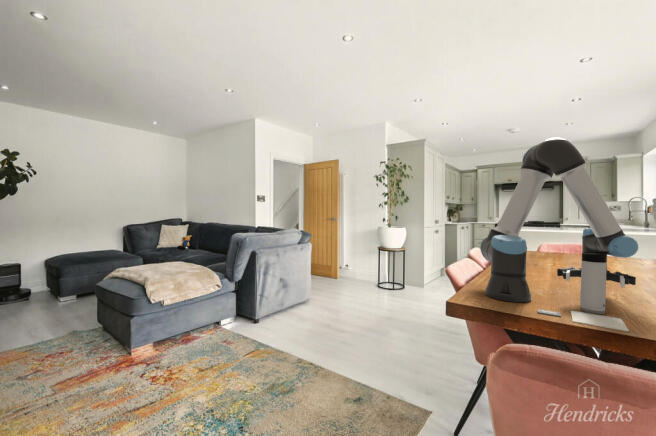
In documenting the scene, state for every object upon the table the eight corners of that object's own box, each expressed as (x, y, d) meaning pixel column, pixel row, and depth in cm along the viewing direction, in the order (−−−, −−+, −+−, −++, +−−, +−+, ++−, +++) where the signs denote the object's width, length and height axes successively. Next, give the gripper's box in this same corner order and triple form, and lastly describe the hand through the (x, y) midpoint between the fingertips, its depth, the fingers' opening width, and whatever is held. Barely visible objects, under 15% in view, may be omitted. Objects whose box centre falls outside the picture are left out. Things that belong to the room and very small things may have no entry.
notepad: (572, 321, 90) (572, 320, 90) (570, 311, 100) (570, 310, 100) (628, 331, 83) (628, 330, 83) (620, 319, 92) (620, 318, 92)
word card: (537, 313, 98) (537, 311, 98) (537, 310, 101) (537, 308, 101) (560, 317, 94) (560, 315, 94) (560, 313, 97) (560, 312, 97)
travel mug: (611, 315, 96) (613, 252, 96) (587, 313, 98) (589, 252, 97) (598, 309, 102) (599, 250, 102) (575, 307, 104) (577, 249, 103)
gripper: (641, 286, 105) (649, 299, 89) (552, 275, 122) (546, 285, 106) (641, 264, 105) (650, 273, 89) (553, 257, 121) (546, 263, 105)
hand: (593, 280), depth 97 cm, fingers open, 13 cm apart
